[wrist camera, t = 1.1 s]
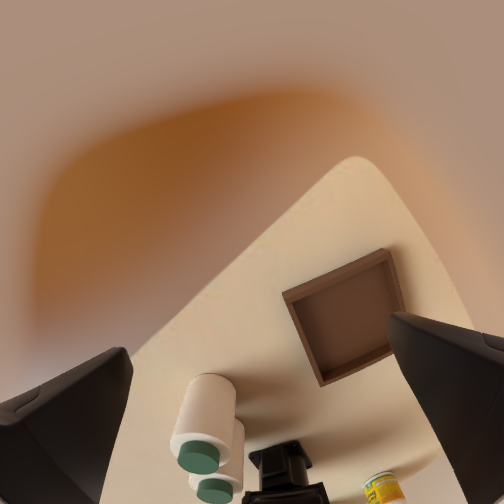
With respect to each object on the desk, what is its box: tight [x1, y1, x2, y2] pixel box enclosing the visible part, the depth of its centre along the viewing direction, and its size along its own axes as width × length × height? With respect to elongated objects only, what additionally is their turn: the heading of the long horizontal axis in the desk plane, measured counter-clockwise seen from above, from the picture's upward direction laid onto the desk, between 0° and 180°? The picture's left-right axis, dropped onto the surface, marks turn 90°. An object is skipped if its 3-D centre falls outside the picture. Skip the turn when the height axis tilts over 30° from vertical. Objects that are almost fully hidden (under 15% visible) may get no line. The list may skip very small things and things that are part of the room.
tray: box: [282, 248, 405, 387], centre depth 24 cm, size 10×10×2 cm
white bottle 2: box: [189, 418, 245, 504], centre depth 23 cm, size 5×5×10 cm
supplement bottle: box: [363, 472, 406, 504], centre depth 26 cm, size 5×5×10 cm
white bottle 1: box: [170, 374, 236, 475], centre depth 22 cm, size 5×5×10 cm
